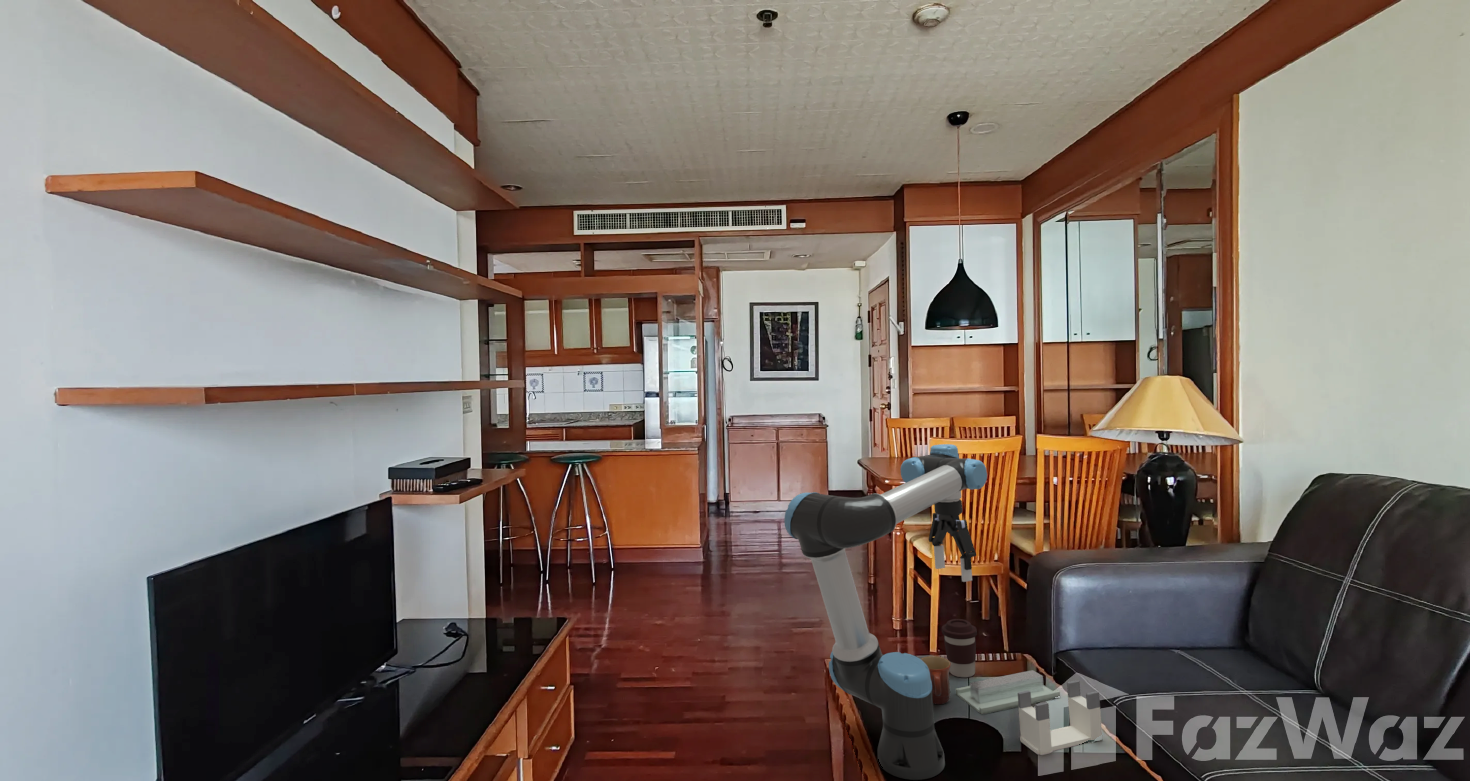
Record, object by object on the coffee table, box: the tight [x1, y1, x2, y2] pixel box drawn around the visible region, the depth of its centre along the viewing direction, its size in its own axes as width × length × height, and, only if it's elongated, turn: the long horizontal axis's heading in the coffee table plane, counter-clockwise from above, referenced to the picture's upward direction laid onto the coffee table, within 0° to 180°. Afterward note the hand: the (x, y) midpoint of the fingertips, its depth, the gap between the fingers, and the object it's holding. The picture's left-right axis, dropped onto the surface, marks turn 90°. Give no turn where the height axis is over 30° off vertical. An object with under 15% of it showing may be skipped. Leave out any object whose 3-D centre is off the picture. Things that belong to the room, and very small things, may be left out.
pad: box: [955, 684, 1061, 715], centre depth 180 cm, size 24×12×2 cm, turn 104°
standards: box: [1018, 679, 1103, 756], centre depth 157 cm, size 18×7×12 cm, turn 104°
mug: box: [920, 655, 951, 706], centre depth 179 cm, size 12×9×10 cm
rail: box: [969, 670, 1044, 704], centre depth 180 cm, size 20×4×4 cm, turn 104°
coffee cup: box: [941, 618, 978, 678], centre depth 196 cm, size 10×10×15 cm
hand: (953, 574), depth 185 cm, fingers open, 13 cm apart
